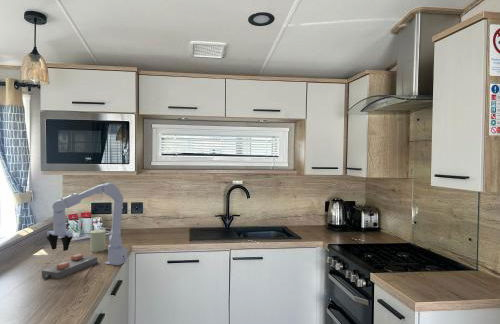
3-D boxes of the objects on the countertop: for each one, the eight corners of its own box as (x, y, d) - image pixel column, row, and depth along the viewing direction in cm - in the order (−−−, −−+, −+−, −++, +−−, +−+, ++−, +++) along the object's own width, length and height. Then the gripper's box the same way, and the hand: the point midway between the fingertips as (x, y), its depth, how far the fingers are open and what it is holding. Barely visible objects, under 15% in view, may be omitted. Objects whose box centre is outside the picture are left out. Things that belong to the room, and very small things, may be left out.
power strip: (97, 262, 189) (97, 257, 189) (52, 281, 162) (52, 274, 162) (83, 260, 192) (82, 255, 192) (36, 278, 165) (36, 272, 165)
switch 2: (83, 257, 187) (83, 253, 187) (75, 260, 183) (75, 256, 183) (78, 257, 188) (78, 253, 188) (71, 259, 184) (71, 255, 184)
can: (88, 252, 209) (88, 232, 209) (91, 248, 218) (91, 229, 218) (104, 251, 212) (104, 231, 212) (107, 247, 221) (106, 228, 220)
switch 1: (69, 265, 174) (69, 261, 174) (61, 268, 169) (61, 264, 169) (64, 265, 175) (64, 261, 175) (56, 268, 170) (56, 264, 170)
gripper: (41, 224, 175) (42, 250, 176) (64, 225, 171) (64, 253, 171) (53, 221, 182) (53, 247, 183) (75, 223, 178) (75, 249, 178)
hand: (59, 249), depth 177 cm, fingers open, 7 cm apart
